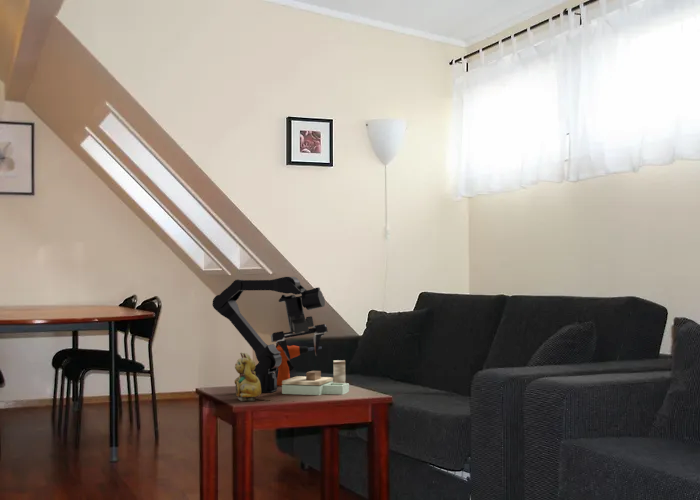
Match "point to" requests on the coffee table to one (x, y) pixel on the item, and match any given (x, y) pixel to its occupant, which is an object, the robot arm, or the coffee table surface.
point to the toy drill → (285, 364)
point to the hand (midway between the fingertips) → (303, 358)
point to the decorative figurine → (246, 379)
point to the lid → (309, 379)
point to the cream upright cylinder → (339, 371)
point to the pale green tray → (316, 389)
